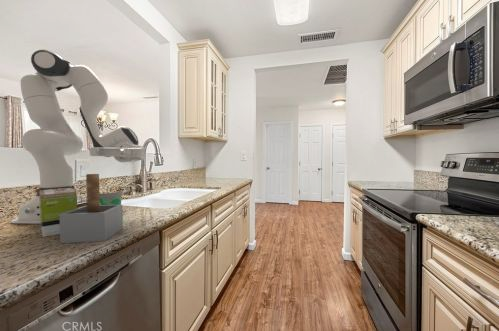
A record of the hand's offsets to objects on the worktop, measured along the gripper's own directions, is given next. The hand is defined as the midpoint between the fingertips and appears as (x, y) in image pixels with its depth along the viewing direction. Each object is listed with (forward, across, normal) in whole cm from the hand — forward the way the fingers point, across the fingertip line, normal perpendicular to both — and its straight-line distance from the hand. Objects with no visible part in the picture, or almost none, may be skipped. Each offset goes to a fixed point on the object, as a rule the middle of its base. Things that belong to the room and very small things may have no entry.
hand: (109, 151), depth 88 cm
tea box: (+3, -16, +30) cm, 34 cm away
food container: (-23, -8, +30) cm, 38 cm away
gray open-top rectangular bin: (+12, +1, +29) cm, 31 cm away
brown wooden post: (+12, +1, +28) cm, 30 cm away
